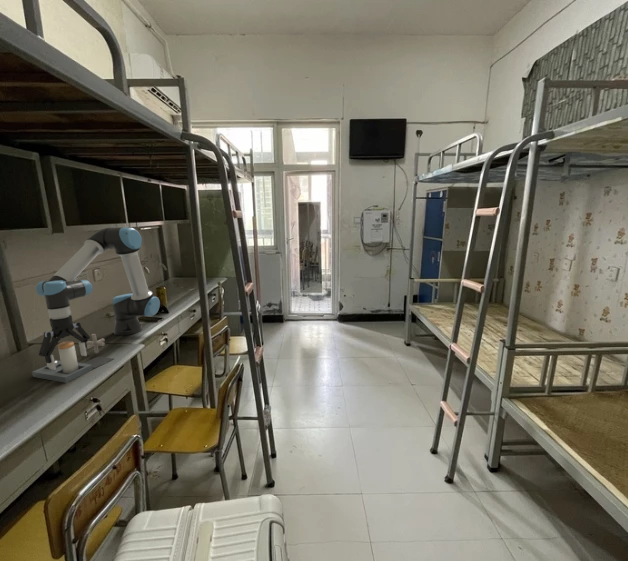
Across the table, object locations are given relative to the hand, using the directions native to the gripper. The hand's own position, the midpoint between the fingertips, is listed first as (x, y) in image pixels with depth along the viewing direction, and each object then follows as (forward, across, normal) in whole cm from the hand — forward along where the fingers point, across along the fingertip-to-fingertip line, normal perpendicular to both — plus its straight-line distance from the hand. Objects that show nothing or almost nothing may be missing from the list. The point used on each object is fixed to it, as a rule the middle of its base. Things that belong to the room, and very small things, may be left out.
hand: (69, 362), depth 139 cm
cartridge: (+6, 0, 0) cm, 6 cm away
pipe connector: (+6, -21, -11) cm, 25 cm away
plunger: (+5, 0, -11) cm, 12 cm away
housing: (+6, 0, -5) cm, 8 cm away
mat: (+6, -12, 0) cm, 14 cm away
